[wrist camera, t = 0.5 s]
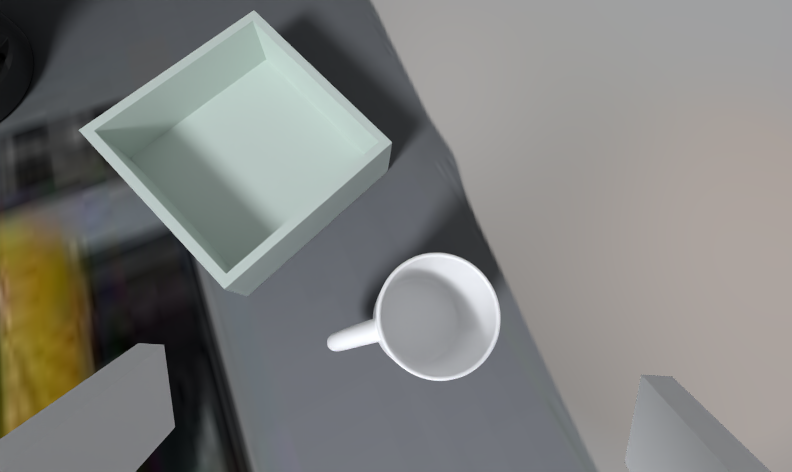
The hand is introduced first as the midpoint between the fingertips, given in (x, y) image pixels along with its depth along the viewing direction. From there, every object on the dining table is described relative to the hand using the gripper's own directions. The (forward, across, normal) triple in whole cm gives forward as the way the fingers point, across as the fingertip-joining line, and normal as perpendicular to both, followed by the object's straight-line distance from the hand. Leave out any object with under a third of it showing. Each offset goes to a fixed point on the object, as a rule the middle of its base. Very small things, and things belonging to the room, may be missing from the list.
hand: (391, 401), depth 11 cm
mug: (+23, -1, -9) cm, 25 cm away
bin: (+28, -16, +4) cm, 32 cm away
